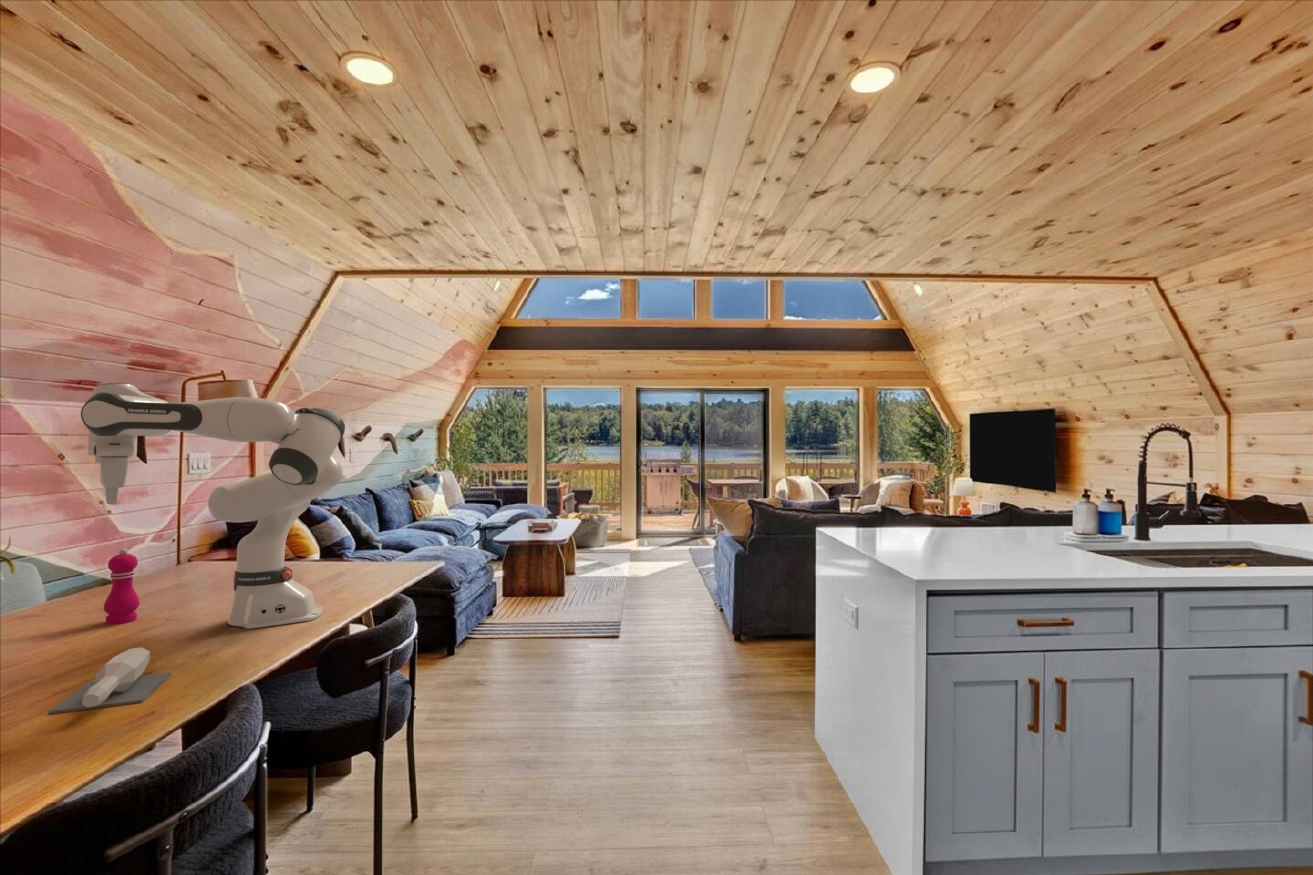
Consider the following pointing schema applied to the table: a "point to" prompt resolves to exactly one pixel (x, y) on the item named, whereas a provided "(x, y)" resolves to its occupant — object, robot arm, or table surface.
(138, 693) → the grey square plate
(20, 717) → the table surface
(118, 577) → the pepper mill
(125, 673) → the low poly bottle
